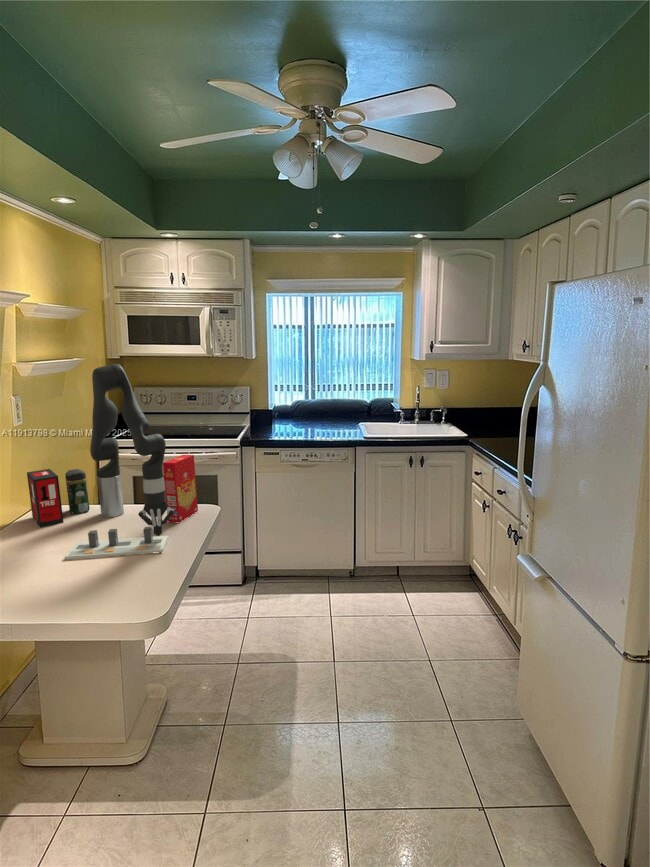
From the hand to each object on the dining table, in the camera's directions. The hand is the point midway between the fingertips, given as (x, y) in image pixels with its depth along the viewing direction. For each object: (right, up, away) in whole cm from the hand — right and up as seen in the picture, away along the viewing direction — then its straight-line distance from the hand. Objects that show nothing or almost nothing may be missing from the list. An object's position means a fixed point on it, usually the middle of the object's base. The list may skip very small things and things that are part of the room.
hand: (158, 535), depth 208 cm
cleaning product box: (-56, 0, +32) cm, 65 cm away
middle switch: (-16, -3, -2) cm, 16 cm away
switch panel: (-13, -4, -3) cm, 14 cm away
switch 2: (-3, -2, 0) cm, 4 cm away
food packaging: (+2, +2, +31) cm, 31 cm away
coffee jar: (-47, +3, +43) cm, 64 cm away
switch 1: (-23, -3, -3) cm, 23 cm away
